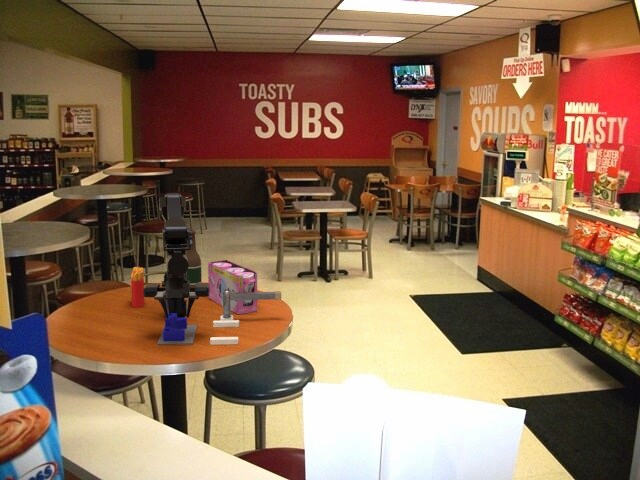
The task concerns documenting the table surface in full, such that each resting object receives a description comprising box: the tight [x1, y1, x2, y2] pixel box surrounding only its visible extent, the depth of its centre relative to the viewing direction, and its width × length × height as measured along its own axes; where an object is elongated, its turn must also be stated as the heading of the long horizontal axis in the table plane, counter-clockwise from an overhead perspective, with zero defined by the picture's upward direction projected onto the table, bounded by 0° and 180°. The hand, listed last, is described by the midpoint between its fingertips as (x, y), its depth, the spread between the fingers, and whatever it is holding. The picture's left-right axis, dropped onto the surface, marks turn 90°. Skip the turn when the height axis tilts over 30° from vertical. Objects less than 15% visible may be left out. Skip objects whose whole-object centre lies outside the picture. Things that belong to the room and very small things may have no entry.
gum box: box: [207, 259, 258, 315], centre depth 212 cm, size 24×8×14 cm, turn 36°
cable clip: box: [162, 313, 188, 341], centre depth 181 cm, size 12×4×6 cm
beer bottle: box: [186, 229, 203, 287], centre depth 223 cm, size 8×8×24 cm
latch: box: [222, 290, 282, 318], centre depth 197 cm, size 3×19×9 cm, turn 99°
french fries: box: [130, 266, 145, 308], centre depth 209 cm, size 9×4×13 cm, turn 19°
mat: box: [156, 324, 198, 346], centre depth 182 cm, size 10×16×1 cm, turn 7°
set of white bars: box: [209, 314, 240, 346], centre depth 187 cm, size 8×24×2 cm, turn 7°
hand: (177, 317), depth 181 cm, fingers open, 5 cm apart
